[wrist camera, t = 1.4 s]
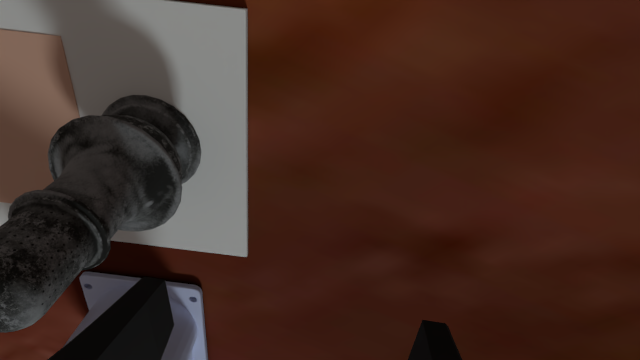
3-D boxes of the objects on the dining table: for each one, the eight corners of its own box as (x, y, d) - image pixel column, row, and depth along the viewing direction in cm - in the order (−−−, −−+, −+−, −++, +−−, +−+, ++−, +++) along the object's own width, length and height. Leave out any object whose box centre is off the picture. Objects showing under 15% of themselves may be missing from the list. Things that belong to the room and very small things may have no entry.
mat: (247, 253, 24) (246, 257, 24) (-101, 211, 25) (-107, 214, 24) (247, 8, 17) (245, 9, 17) (-248, -47, 17) (-259, -47, 17)
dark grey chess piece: (71, 131, 20) (-219, 321, 10) (143, 64, 18) (-130, 217, 8) (157, 208, 23) (-9, 429, 12) (230, 156, 20) (105, 370, 10)
